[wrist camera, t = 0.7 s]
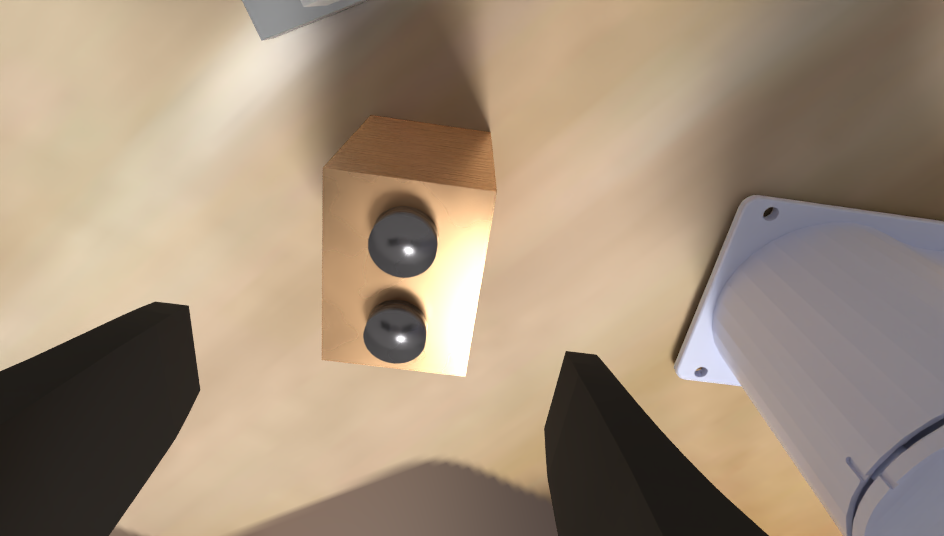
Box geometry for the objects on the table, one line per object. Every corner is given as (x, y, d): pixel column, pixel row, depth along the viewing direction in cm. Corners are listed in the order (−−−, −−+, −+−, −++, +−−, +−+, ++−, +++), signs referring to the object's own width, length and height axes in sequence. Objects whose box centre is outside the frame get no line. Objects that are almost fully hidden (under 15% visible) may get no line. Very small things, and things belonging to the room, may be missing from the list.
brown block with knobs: (490, 131, 17) (497, 200, 11) (468, 274, 20) (464, 391, 14) (370, 114, 17) (315, 175, 11) (364, 261, 20) (315, 373, 14)
